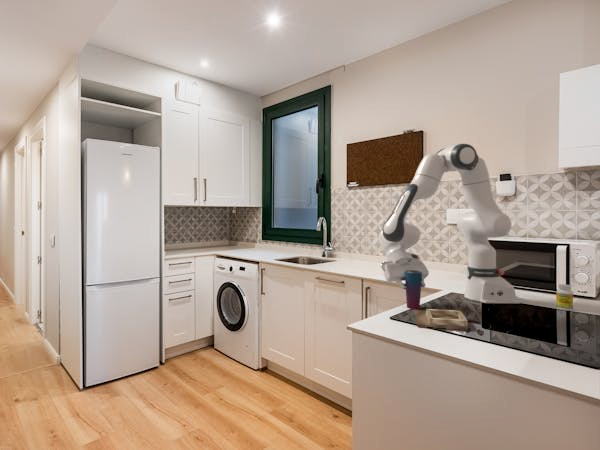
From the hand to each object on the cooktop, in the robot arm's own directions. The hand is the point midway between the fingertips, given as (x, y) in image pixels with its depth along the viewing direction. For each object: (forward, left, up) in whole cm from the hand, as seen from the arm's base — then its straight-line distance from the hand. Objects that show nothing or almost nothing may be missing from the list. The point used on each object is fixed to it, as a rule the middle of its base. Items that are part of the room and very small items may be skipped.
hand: (414, 287), depth 145 cm
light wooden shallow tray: (-8, +15, -8) cm, 19 cm away
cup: (0, -1, -9) cm, 9 cm away
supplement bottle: (-59, -12, -9) cm, 60 cm away
